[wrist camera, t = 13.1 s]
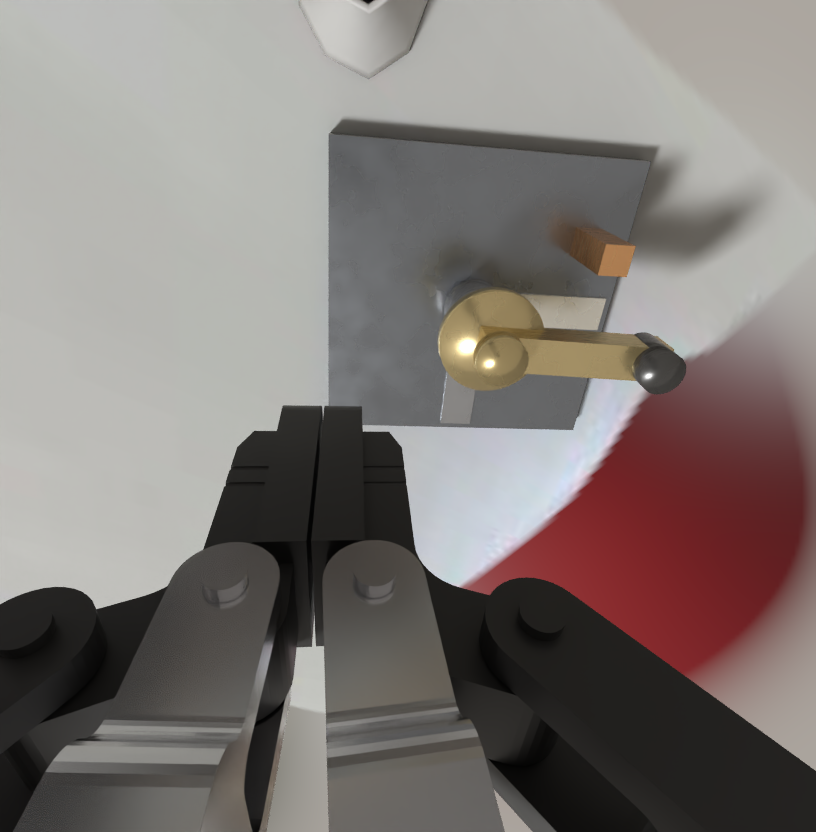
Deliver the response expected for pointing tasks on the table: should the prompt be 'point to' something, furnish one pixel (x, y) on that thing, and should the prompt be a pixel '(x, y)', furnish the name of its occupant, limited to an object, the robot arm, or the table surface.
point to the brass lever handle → (543, 347)
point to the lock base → (465, 268)
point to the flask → (364, 30)
